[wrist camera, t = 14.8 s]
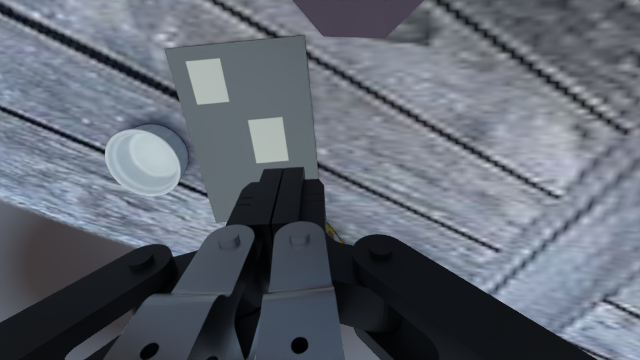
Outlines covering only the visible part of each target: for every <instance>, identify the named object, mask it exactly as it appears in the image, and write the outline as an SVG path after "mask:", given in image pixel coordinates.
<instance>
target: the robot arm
mask: <svg viewBox="0 0 640 360" xmlns="http://www.w3.org/2000/svg"><path fill="white" fill-rule="evenodd" d="M269 285H270V288H269ZM268 291H269V292H268ZM128 311H130V312H131V314H132V316H133V318H132V319H131V321H130V322H129V323H128V325H127V327H126V328H125V329H124V330H123V332H122V333H121V334H120V335H119V336H117V337H116V338H115V339H113V340H112V341H110V342H109V343H108V344H107V345H105V346H103V347H102V348H101V349H99V350H98V351H96V352H95V353H93V354H92V355H91V356H89V357H88V358H86V359H84V360H254V359H255V356H256V359H255V360H345V356H344V349H343V343H342V336H341V329H340V324H344V325H348V326H351V327H354V330H355V333H356V334H357V336H358V337H359V338H360V339H361V340H362V341H363V342H364V343H365V344H366V345H367V346H368V347H369V348H370V349H371V350H372V351H373V352H374V353H375V354H376V355H377V356H378V357H379V358H380V359H381V360H597V359H595V358H594V357H592V356H590V355H589V354H587V353H585V352H584V351H582V350H580V349H579V348H577V347H575V346H574V345H572V344H570V343H569V342H567V341H566V340H564V339H562V338H561V337H559V336H557V335H556V334H554V333H552V332H551V331H549V330H547V329H546V328H544V327H542V326H541V325H539V324H537V323H536V322H534V321H532V320H531V319H529V318H527V317H526V316H524V315H522V314H521V313H519V312H517V311H516V310H514V309H512V308H511V307H509V306H507V305H506V304H504V303H502V302H501V301H499V300H497V299H496V298H494V297H492V296H491V295H489V294H487V293H486V292H484V291H482V290H481V289H479V288H478V287H476V286H474V285H473V284H471V283H469V282H468V281H466V280H464V279H463V278H461V277H459V276H458V275H456V274H454V273H453V272H451V271H449V270H448V269H446V268H444V267H443V266H441V265H439V264H438V263H436V262H434V261H433V260H431V259H429V258H428V257H426V256H424V255H423V254H421V253H419V252H418V251H416V250H414V249H413V248H411V247H409V246H408V245H406V244H404V243H403V242H401V241H399V240H398V239H396V238H394V237H391V236H387V235H381V234H374V235H368V236H365V237H363V238H361V239H359V240H358V241H357V242H356V243H355V245H354V246H353V245H348V244H343V243H340V242H338V241H336V240H334V239H332V238H331V237H330V236H329V235H328V234H327V232H326V211H325V195H324V185H323V184H322V182H321V181H320V180H319V179H305V169H304V167H290V168H272V169H264V170H263V173H262V175H261V178H260V181H259V182H250V183H249V184H248V185H247V186H246V187H244V188H243V189H242V191H241V193H240V195H239V197H238V199H237V202H236V204H235V206H234V208H233V210H232V213H231V215H230V217H229V219H228V221H227V224H226V226H225V227H222V228H219V229H217V230H215V231H214V232H212V233H211V234H210V235H209V236H207V238H206V239H205V240H204V242H203V243H202V245H201V247H200V248H199V250H197V251H194V252H190V253H187V254H183V255H179V256H175V257H173V255H172V252H171V250H170V248H169V247H167V246H165V245H161V244H152V245H147V246H143V247H140V248H137V249H135V250H133V251H131V252H129V253H127V254H125V255H124V256H122V257H120V258H118V259H116V260H114V261H113V262H111V263H109V264H107V265H105V266H103V267H102V268H100V269H98V270H96V271H94V272H92V273H91V274H89V275H87V276H85V277H83V278H81V279H80V280H78V281H76V282H74V283H72V284H70V285H69V286H67V287H65V288H63V289H61V290H60V291H57V292H56V293H54V294H52V295H50V296H48V297H46V298H45V299H43V300H41V301H39V302H37V303H36V304H34V305H32V306H30V307H28V308H26V309H24V310H23V311H21V312H19V313H17V314H15V315H13V316H12V317H10V318H8V319H6V320H4V321H2V322H1V323H0V360H65V359H64V358H65V357H66V355H67V354H68V353H69V352H70V351H71V350H72V349H73V348H74V347H76V346H78V345H79V344H81V343H82V342H84V341H85V340H87V339H88V338H90V337H91V336H92V335H94V334H95V333H97V332H98V331H100V330H101V329H103V328H104V327H106V326H107V325H109V324H110V323H112V322H113V321H114V320H116V319H118V318H119V317H121V316H122V315H124V314H125V313H127V312H128Z"/></svg>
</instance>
